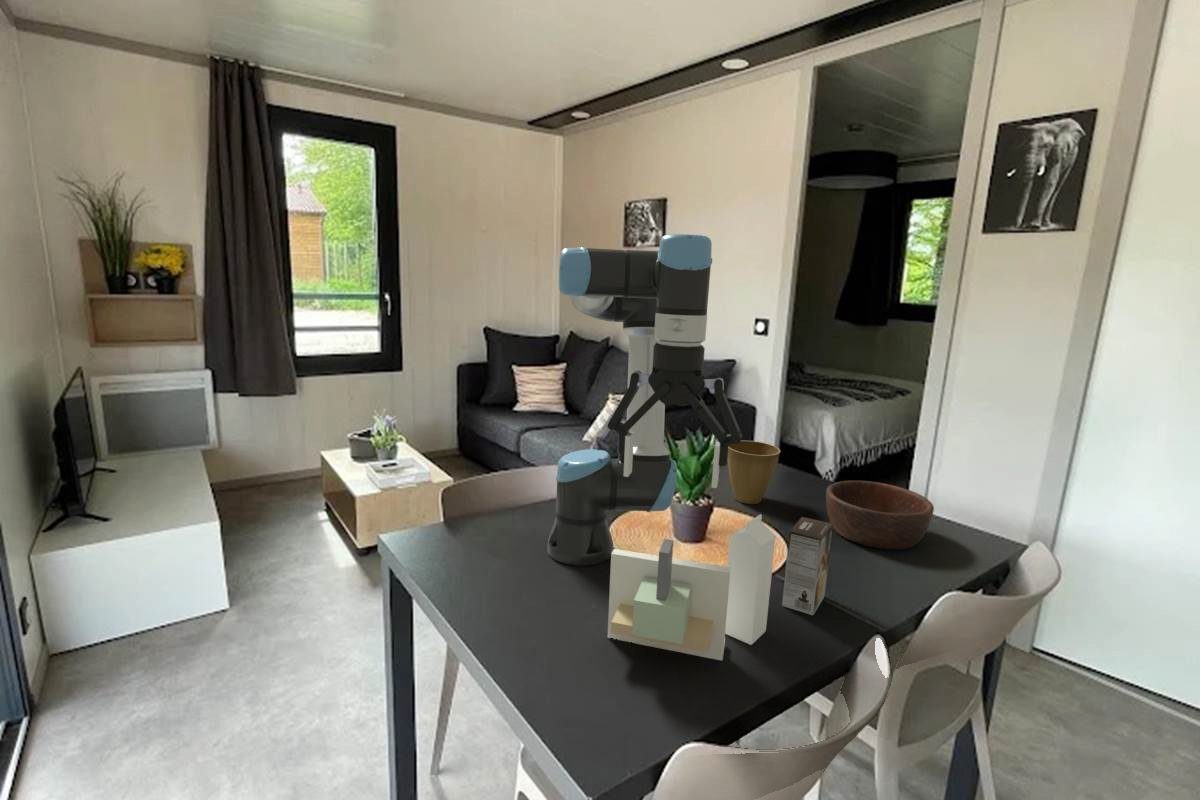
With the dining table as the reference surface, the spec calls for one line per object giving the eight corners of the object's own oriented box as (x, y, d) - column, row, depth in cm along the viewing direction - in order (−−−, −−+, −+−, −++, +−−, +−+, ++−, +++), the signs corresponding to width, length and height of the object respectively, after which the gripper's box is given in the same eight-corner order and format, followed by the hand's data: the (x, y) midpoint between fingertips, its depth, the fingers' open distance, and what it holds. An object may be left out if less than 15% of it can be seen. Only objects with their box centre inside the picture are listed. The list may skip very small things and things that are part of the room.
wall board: (598, 657, 101) (601, 569, 98) (613, 624, 111) (617, 542, 108) (719, 683, 96) (727, 590, 93) (724, 645, 106) (731, 560, 103)
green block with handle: (632, 634, 96) (636, 552, 93) (642, 608, 103) (646, 532, 101) (682, 644, 94) (688, 560, 91) (688, 617, 101) (694, 539, 99)
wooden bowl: (832, 549, 146) (837, 509, 144) (815, 511, 170) (819, 476, 168) (943, 561, 142) (950, 520, 140) (909, 520, 166) (915, 484, 164)
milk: (766, 631, 111) (778, 518, 106) (751, 646, 106) (763, 528, 102) (735, 618, 114) (746, 508, 110) (720, 632, 110) (731, 518, 105)
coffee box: (793, 587, 127) (801, 515, 124) (825, 596, 124) (834, 523, 120) (780, 606, 119) (789, 530, 116) (814, 616, 116) (823, 538, 113)
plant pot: (727, 508, 170) (731, 453, 167) (719, 489, 184) (723, 439, 181) (780, 510, 169) (786, 455, 166) (768, 492, 184) (773, 441, 181)
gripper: (591, 339, 89) (586, 476, 93) (766, 351, 83) (752, 498, 87) (604, 335, 96) (599, 462, 101) (766, 346, 90) (753, 482, 94)
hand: (670, 479), depth 94 cm, fingers open, 13 cm apart
